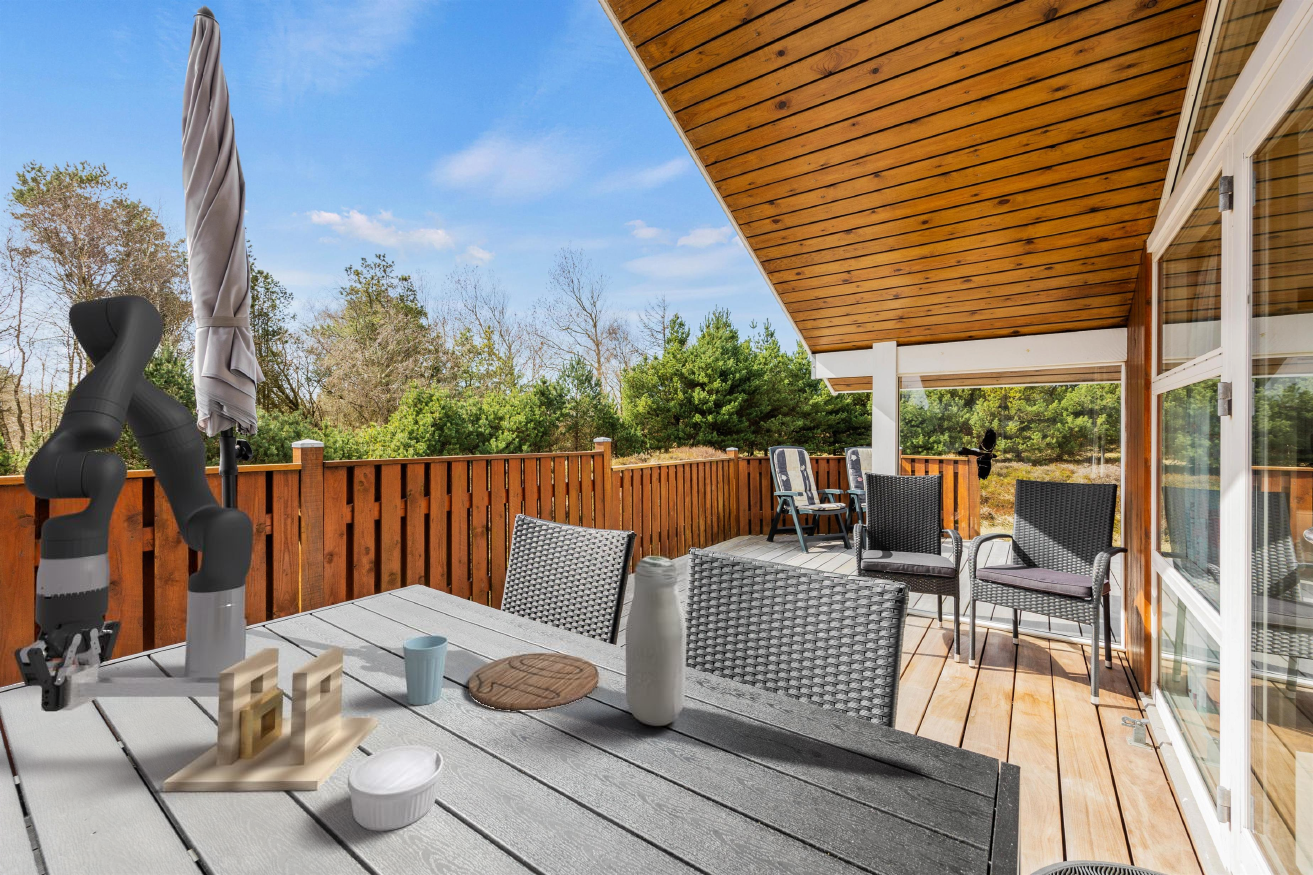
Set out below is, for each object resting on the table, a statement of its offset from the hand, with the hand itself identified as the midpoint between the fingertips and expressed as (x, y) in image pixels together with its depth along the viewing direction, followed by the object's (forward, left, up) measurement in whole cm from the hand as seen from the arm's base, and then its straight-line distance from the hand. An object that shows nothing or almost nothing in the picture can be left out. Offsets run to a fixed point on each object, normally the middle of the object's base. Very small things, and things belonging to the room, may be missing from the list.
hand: (69, 702), depth 83 cm
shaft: (0, +11, 0) cm, 11 cm away
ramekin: (+13, +53, -8) cm, 55 cm away
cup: (-19, +45, -8) cm, 49 cm away
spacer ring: (0, +28, -3) cm, 28 cm away
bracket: (0, +31, -8) cm, 32 cm away
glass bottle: (-10, +87, -8) cm, 88 cm away
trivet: (-26, +64, -8) cm, 69 cm away
